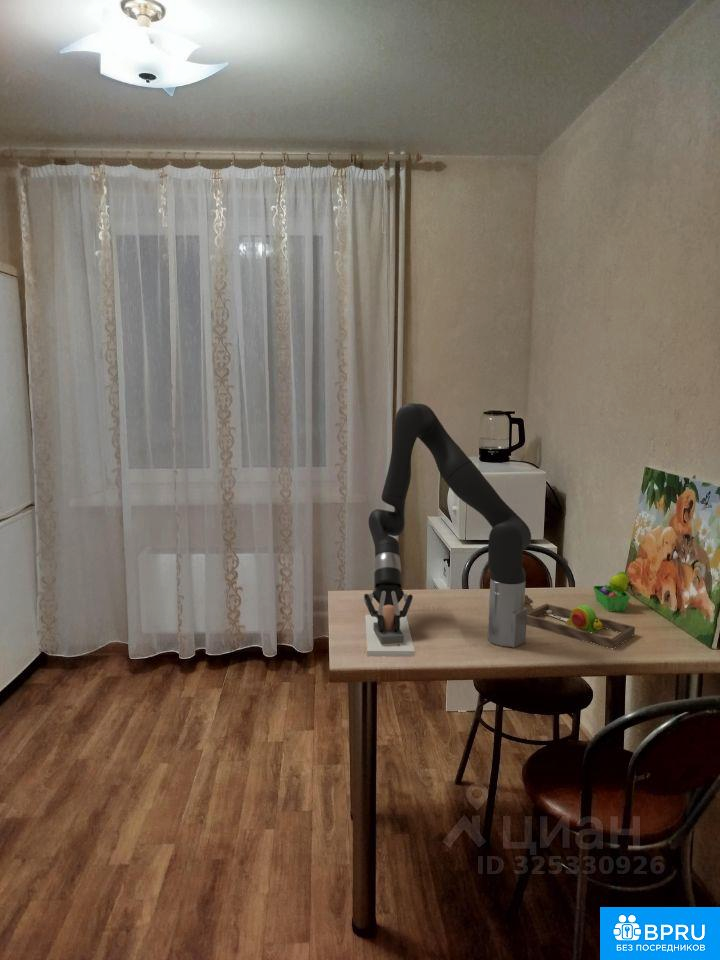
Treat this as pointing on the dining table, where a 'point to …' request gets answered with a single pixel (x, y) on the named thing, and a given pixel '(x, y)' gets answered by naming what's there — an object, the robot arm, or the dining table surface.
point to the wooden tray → (577, 633)
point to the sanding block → (388, 628)
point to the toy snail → (581, 618)
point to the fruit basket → (613, 593)
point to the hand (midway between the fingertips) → (388, 630)
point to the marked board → (388, 650)
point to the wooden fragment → (526, 604)
